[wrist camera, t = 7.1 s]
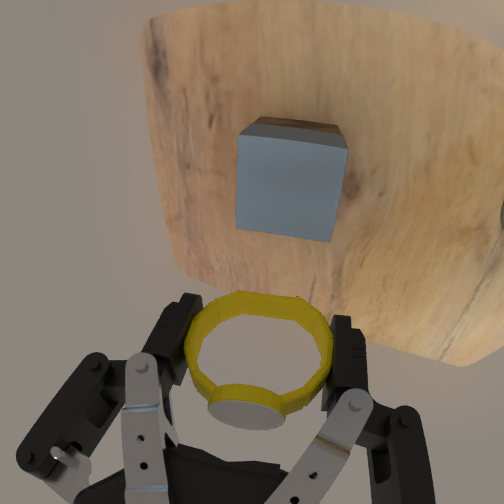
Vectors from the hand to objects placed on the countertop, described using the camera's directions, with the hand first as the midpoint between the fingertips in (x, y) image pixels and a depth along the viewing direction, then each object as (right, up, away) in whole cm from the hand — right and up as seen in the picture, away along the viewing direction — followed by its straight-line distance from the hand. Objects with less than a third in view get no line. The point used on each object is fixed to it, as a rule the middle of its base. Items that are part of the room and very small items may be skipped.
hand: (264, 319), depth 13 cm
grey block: (+3, +10, +13) cm, 17 cm away
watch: (0, +1, +1) cm, 1 cm away
